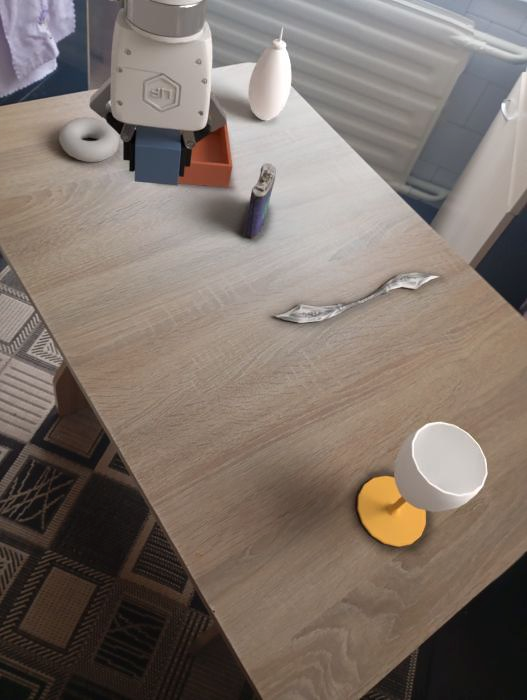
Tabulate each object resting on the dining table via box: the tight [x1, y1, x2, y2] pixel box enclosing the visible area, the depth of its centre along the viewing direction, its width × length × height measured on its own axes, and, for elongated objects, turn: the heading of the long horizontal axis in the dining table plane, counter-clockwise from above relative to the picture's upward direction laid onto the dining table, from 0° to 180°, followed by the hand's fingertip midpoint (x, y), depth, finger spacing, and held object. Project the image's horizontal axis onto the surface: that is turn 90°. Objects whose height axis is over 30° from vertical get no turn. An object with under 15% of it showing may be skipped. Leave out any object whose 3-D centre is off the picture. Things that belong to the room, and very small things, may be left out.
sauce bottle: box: [247, 26, 292, 121], centre depth 108 cm, size 8×8×18 cm
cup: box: [356, 421, 488, 548], centre depth 65 cm, size 9×9×16 cm
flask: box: [242, 163, 277, 240], centre depth 92 cm, size 9×3×11 cm, turn 166°
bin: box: [178, 113, 233, 188], centre depth 102 cm, size 12×15×4 cm
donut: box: [58, 117, 120, 163], centre depth 98 cm, size 10×4×10 cm
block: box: [134, 125, 181, 186], centre depth 66 cm, size 5×5×5 cm
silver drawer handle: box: [275, 271, 441, 324], centre depth 91 cm, size 32×1×5 cm
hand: (156, 165), depth 67 cm, fingers closed on block, 5 cm apart
